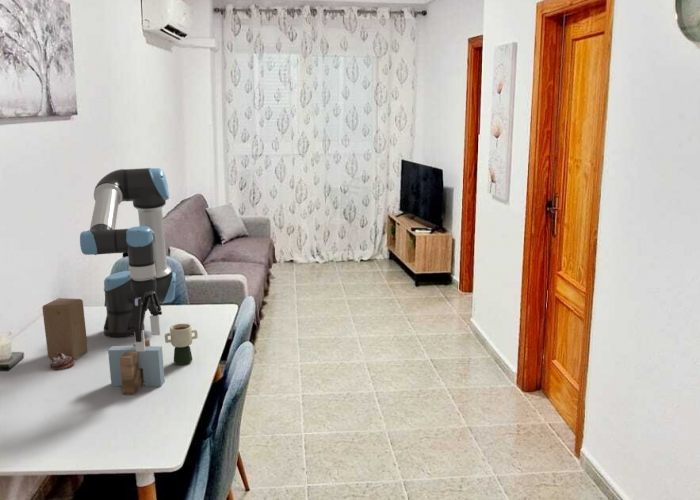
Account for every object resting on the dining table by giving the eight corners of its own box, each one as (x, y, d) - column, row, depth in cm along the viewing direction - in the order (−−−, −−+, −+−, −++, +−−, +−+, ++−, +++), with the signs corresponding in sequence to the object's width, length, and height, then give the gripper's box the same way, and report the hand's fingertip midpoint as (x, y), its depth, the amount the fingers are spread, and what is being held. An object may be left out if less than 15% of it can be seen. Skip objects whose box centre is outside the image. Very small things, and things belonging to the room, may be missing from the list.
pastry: (45, 368, 229) (43, 354, 228) (63, 360, 236) (61, 347, 235) (62, 372, 226) (60, 358, 225) (79, 364, 232) (78, 350, 231)
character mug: (197, 356, 237) (195, 321, 234) (201, 363, 230) (198, 327, 228) (165, 361, 233) (162, 325, 230) (168, 368, 227) (165, 332, 224)
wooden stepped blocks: (142, 373, 223) (138, 339, 220) (152, 373, 222) (149, 339, 220) (123, 394, 207) (119, 357, 204) (134, 394, 207) (130, 357, 204)
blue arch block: (111, 385, 214) (107, 350, 211) (115, 381, 217) (112, 346, 214) (161, 386, 213) (158, 350, 210) (164, 381, 216) (161, 346, 213)
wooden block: (73, 361, 234) (67, 306, 230) (47, 360, 236) (40, 305, 231) (89, 351, 244) (83, 298, 239) (64, 350, 245) (58, 297, 241)
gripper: (145, 266, 219) (150, 328, 224) (114, 289, 195) (121, 358, 200) (168, 267, 219) (173, 328, 224) (140, 289, 194) (146, 358, 199)
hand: (148, 342), depth 212 cm, fingers open, 13 cm apart
